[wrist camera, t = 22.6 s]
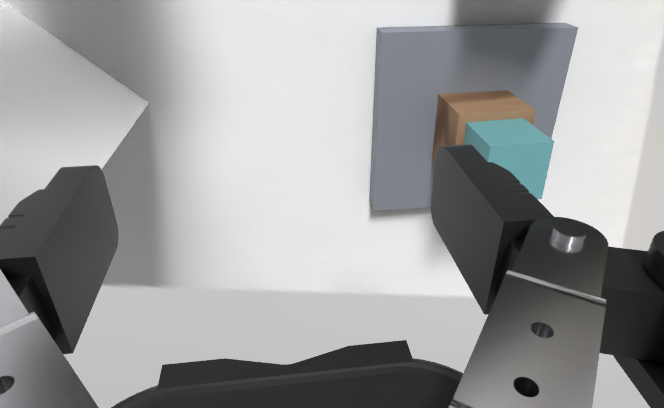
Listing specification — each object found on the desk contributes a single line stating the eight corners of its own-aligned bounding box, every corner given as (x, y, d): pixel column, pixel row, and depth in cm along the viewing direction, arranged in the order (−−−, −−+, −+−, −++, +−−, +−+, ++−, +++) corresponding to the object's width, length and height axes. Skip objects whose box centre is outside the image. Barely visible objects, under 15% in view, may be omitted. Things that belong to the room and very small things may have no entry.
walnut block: (438, 93, 41) (459, 114, 36) (507, 90, 41) (536, 110, 37) (431, 159, 44) (450, 185, 39) (496, 155, 44) (521, 180, 40)
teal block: (466, 122, 37) (490, 146, 33) (523, 118, 37) (553, 141, 33) (460, 175, 39) (481, 204, 35) (514, 171, 40) (541, 198, 36)
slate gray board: (377, 27, 39) (382, 32, 38) (564, 22, 41) (578, 27, 39) (369, 200, 47) (373, 211, 46) (526, 190, 49) (536, 200, 47)
